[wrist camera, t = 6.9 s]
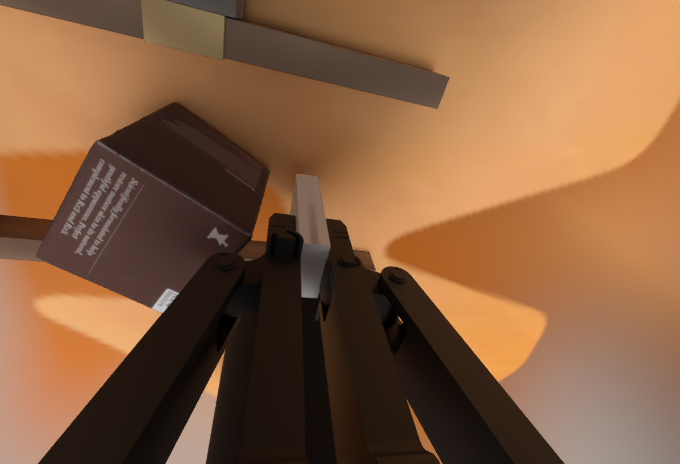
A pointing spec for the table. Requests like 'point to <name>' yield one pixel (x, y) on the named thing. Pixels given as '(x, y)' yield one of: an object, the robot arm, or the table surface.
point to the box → (155, 207)
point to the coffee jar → (236, 388)
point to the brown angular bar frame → (223, 42)
